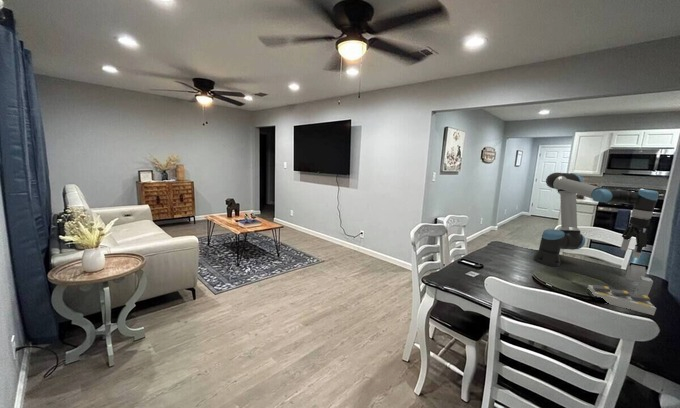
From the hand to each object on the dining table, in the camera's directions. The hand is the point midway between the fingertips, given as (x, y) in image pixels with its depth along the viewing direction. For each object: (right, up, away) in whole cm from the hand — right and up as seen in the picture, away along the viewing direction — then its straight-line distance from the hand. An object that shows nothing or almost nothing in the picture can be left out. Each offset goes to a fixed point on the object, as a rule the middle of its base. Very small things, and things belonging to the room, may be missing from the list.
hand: (629, 253), depth 154 cm
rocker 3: (-11, -21, -15) cm, 28 cm away
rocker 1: (-24, -19, -8) cm, 31 cm away
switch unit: (-18, -24, -11) cm, 32 cm away
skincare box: (0, -24, -5) cm, 25 cm away
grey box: (+23, -21, +19) cm, 36 cm away
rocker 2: (-17, -20, -12) cm, 29 cm away
